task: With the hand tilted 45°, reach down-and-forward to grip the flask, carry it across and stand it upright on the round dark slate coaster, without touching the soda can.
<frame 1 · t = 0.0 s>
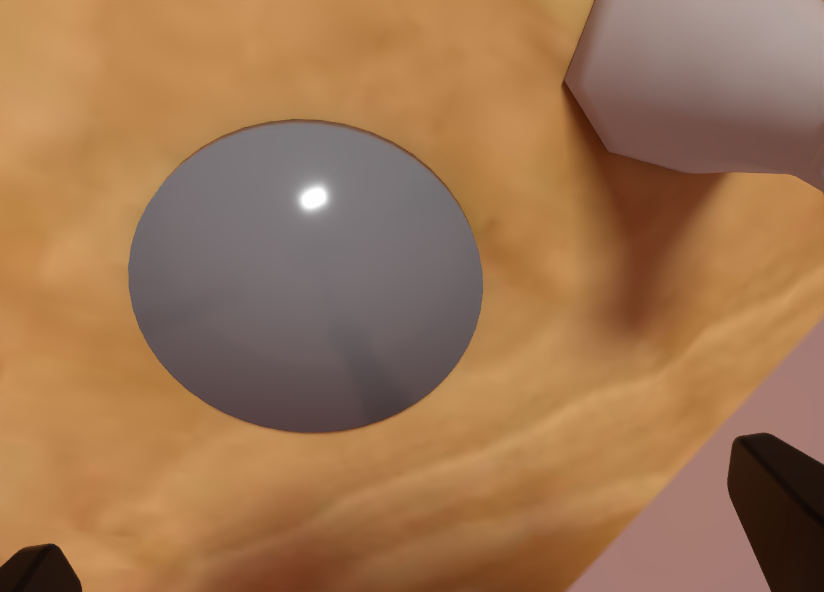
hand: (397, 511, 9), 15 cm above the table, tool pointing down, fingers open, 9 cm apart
flask: (681, 52, 21), on the table
slate coaster: (311, 287, 24), on the table
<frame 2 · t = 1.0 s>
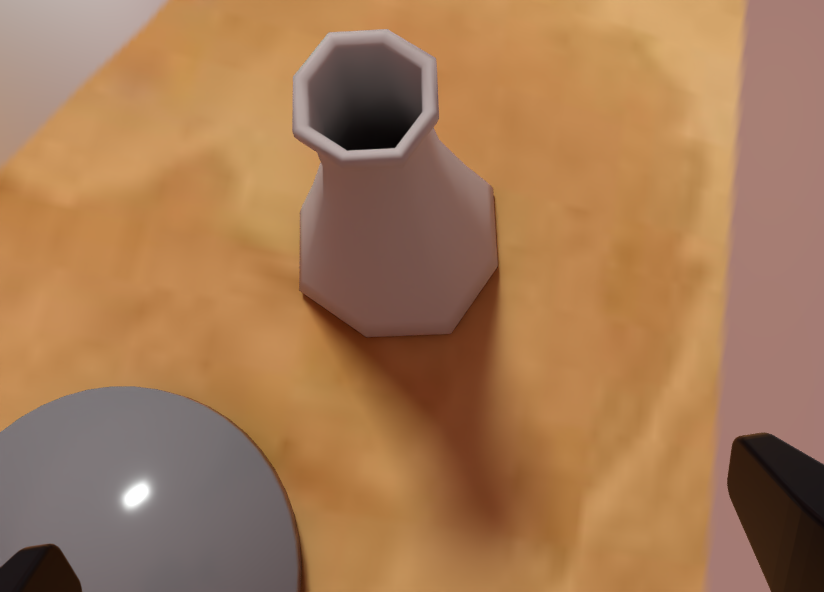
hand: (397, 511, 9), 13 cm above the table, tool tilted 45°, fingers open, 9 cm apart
flask: (398, 242, 24), on the table
slate coaster: (116, 576, 21), on the table
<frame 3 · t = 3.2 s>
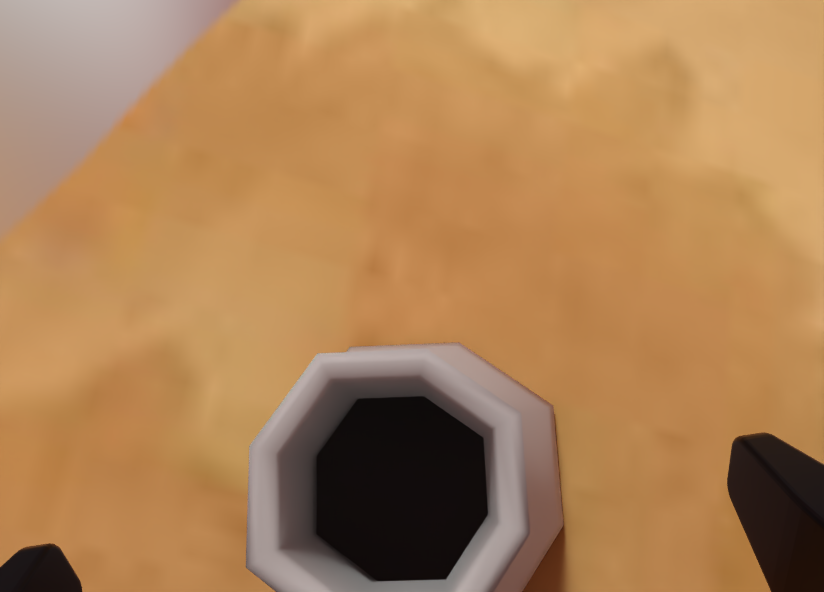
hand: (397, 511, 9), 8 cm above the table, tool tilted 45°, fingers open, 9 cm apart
flask: (420, 480, 17), on the table
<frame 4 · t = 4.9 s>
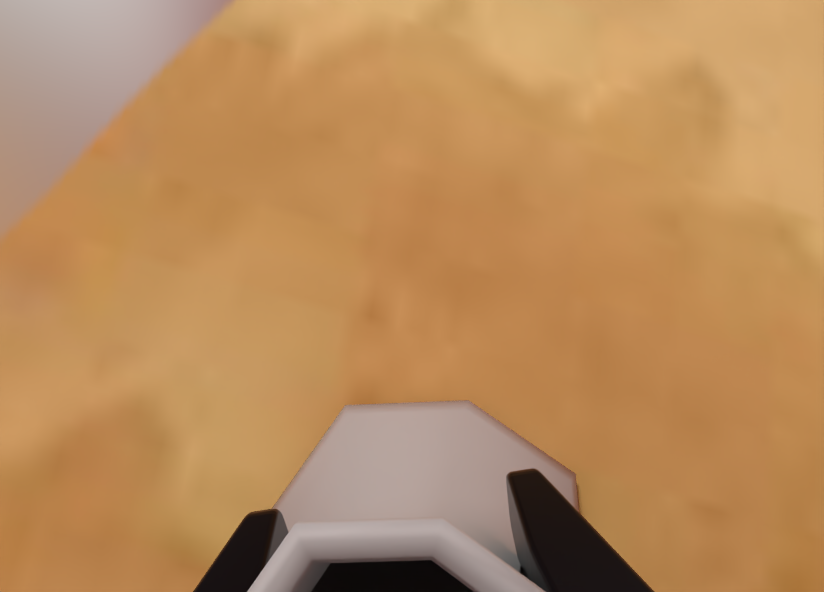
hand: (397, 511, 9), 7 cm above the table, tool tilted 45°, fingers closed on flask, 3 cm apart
flask: (425, 557, 15), on the table, touching gripper
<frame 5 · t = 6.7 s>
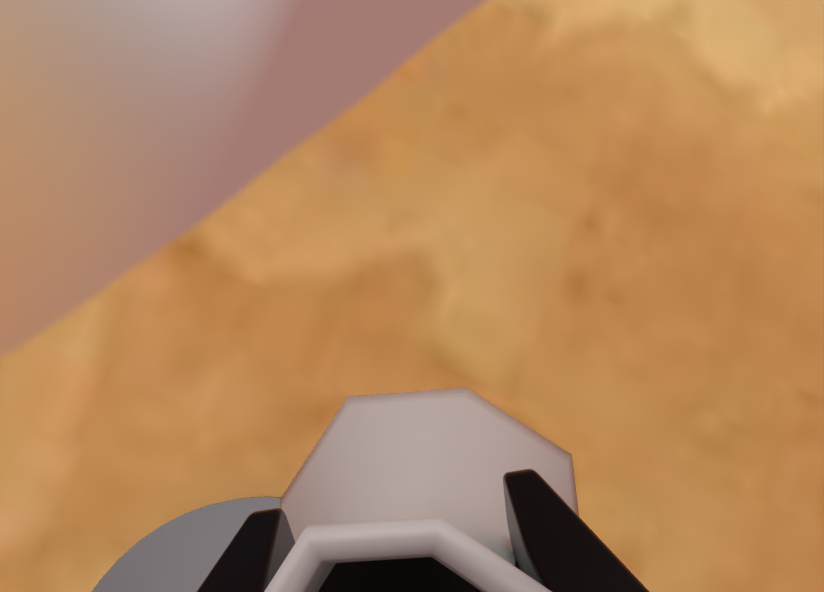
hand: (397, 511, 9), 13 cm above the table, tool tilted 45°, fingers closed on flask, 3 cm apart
flask: (430, 539, 16), point 5 cm above the table, touching gripper
when the fingers open (9 cm above the table, at t = 8.8 s): flask stays where it is, resting on slate coaster.
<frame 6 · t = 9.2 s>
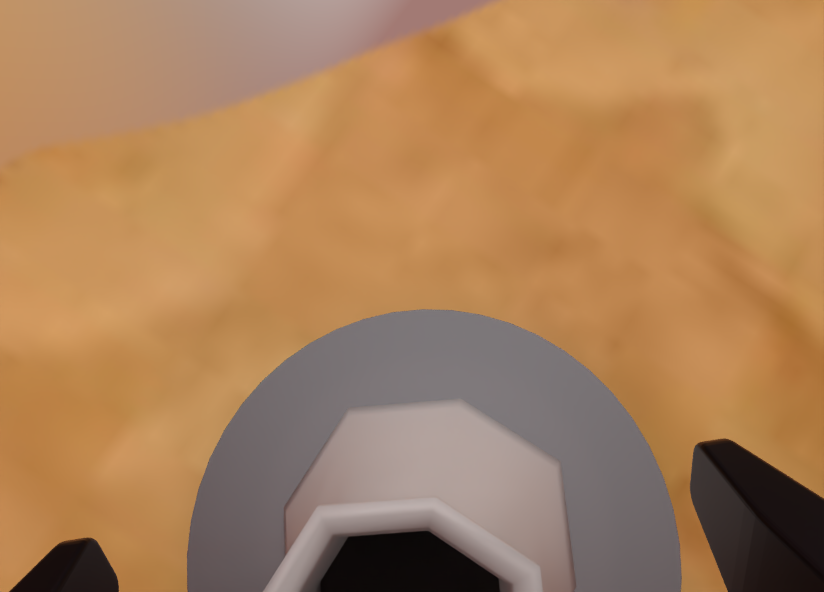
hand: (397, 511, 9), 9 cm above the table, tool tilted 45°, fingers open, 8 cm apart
flask: (427, 543, 17), point 1 cm above the table, touching slate coaster
slate coaster: (430, 545, 17), on the table
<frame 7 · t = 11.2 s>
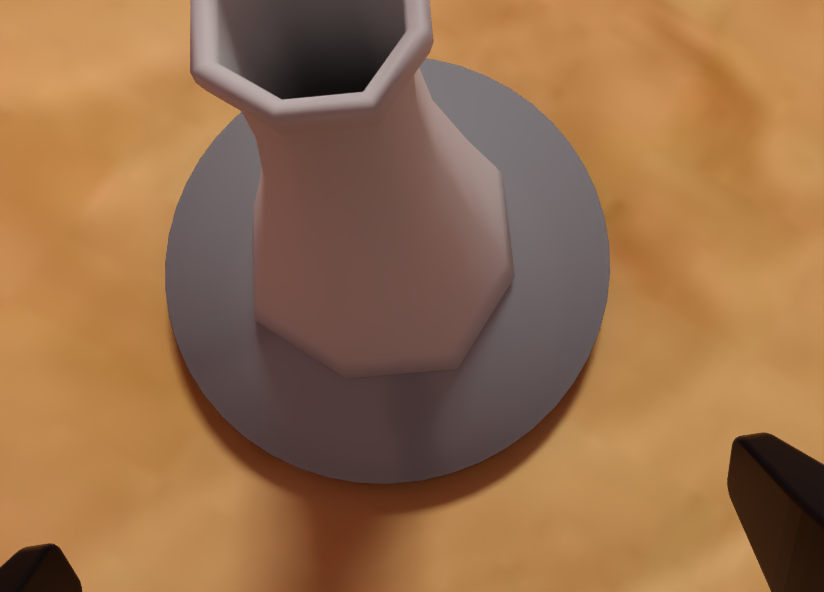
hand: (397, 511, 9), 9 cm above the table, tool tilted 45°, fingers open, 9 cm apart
flask: (382, 251, 18), point 1 cm above the table, touching slate coaster
slate coaster: (386, 261, 19), on the table
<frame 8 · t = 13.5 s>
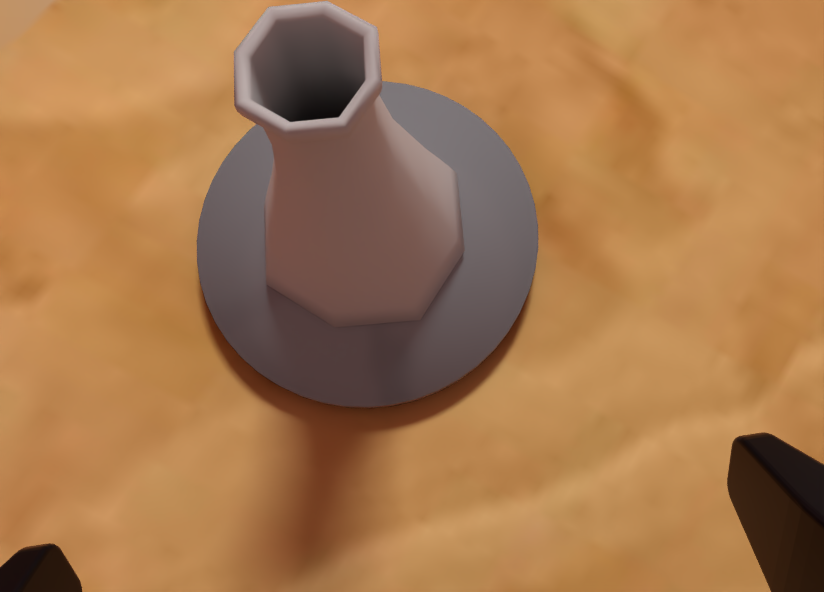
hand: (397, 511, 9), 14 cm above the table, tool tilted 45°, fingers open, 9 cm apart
flask: (364, 232, 24), point 1 cm above the table, touching slate coaster
slate coaster: (368, 240, 24), on the table
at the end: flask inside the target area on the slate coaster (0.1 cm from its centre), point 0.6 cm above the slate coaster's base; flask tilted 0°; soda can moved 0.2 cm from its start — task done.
